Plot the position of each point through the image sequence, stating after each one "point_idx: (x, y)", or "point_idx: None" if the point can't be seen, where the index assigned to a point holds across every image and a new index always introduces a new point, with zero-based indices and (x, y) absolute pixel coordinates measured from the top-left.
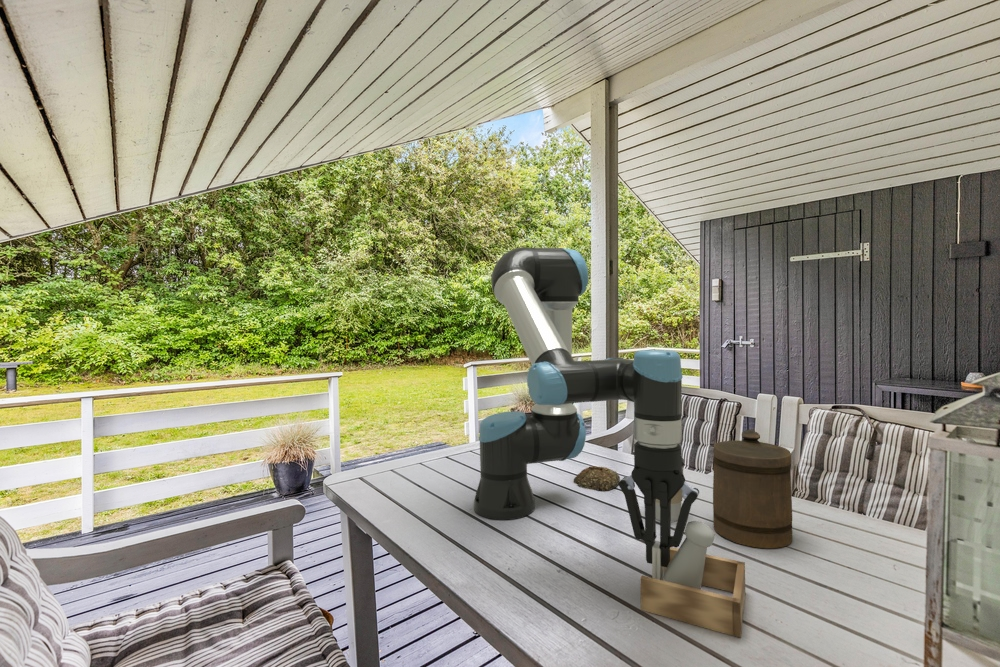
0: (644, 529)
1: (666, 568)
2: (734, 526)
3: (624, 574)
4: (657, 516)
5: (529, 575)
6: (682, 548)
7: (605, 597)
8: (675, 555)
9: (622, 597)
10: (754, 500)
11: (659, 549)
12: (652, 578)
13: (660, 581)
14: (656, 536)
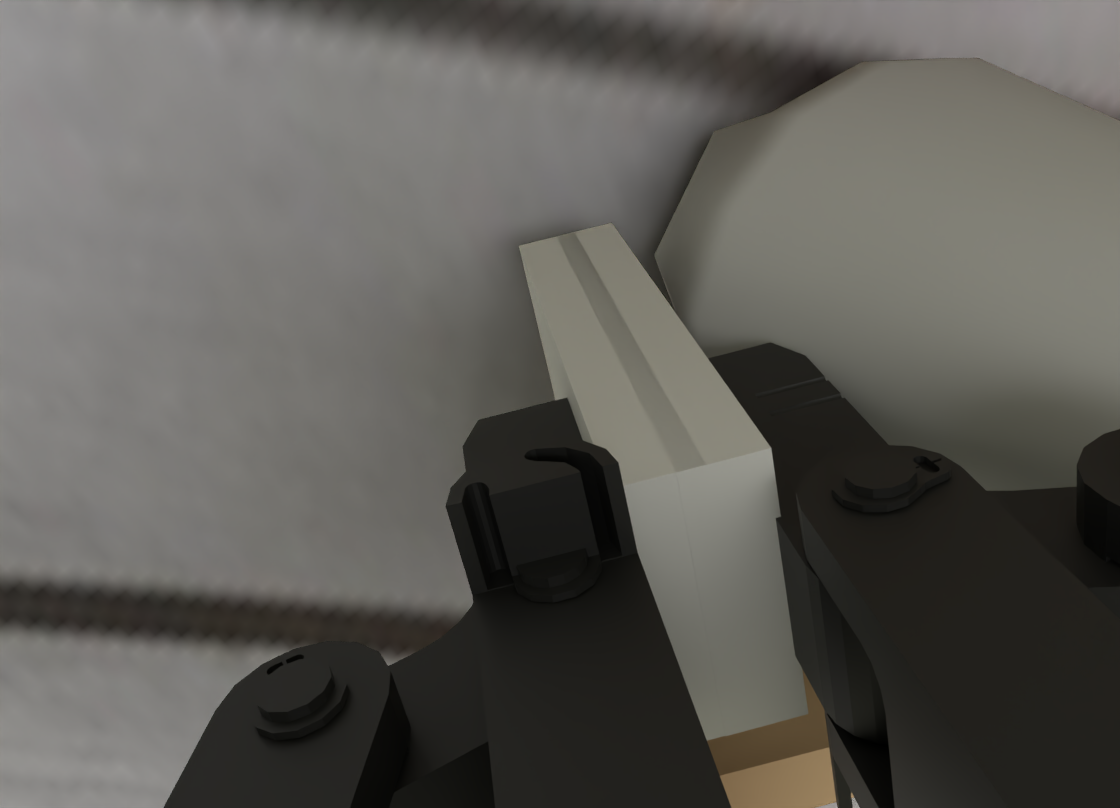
0: (385, 729)
1: (727, 348)
2: None
3: (45, 182)
4: None
5: None
6: None
7: (213, 679)
8: (987, 488)
9: (331, 582)
10: None
11: (794, 710)
12: (728, 784)
13: (825, 775)
14: (616, 474)
